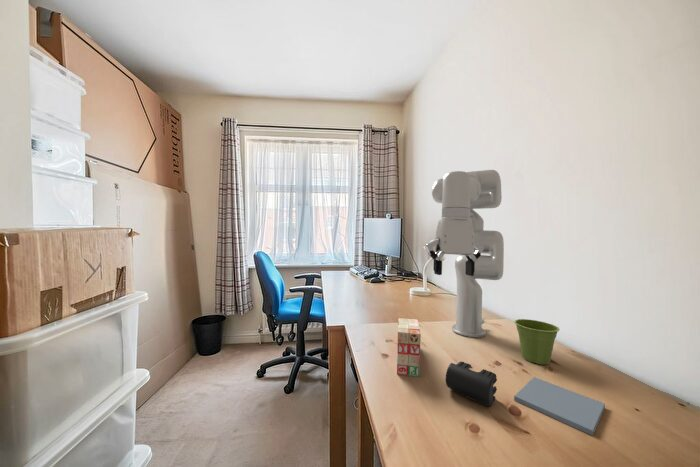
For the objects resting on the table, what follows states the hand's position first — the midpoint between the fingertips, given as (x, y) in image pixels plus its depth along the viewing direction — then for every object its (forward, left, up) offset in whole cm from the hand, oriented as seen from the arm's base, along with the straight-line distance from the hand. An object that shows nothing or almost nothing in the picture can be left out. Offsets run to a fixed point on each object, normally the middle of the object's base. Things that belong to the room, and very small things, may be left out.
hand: (453, 274), depth 75 cm
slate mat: (-7, +23, -28) cm, 37 cm away
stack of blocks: (+3, -13, -28) cm, 31 cm away
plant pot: (-29, +12, -28) cm, 42 cm away
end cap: (+7, +9, -28) cm, 30 cm away
